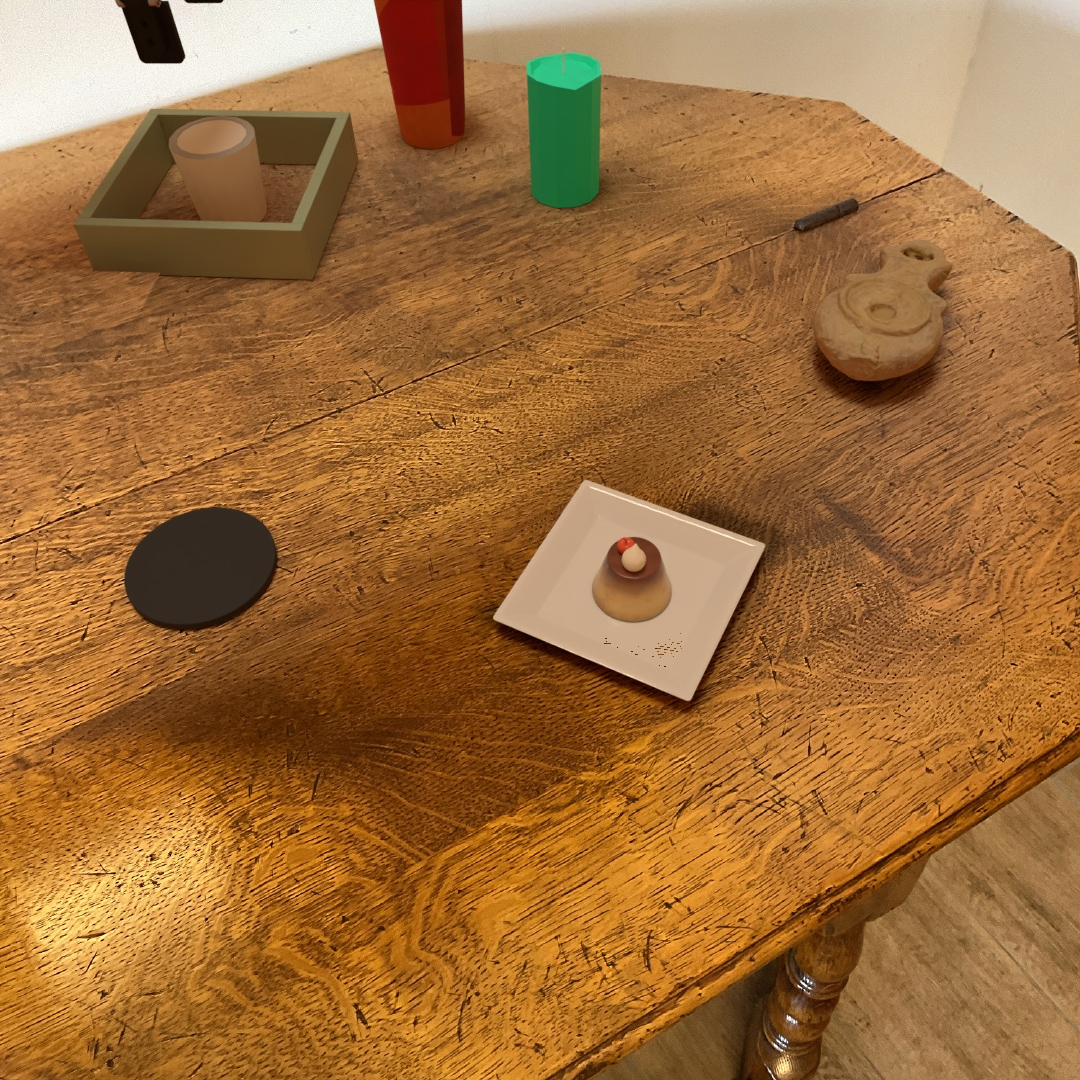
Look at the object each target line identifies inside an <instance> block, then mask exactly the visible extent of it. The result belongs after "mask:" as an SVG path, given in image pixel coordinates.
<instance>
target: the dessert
mask: <svg viewBox="0 0 1080 1080" xmlns="http://www.w3.org/2000/svg"><path fill="white" fill-rule="evenodd" d="M765 548H766V544H765V543H764V542H761V541H758V540H755V539H753V538H750V537H747V536H744V535H742V534H738V533H737V532H734V531H730V530H727V529H725V528H722V527H719V526H717V525H714V524H711V523H709V522H705V521H703V520H699V519H697V518H694V517H692V516H689V515H687V514H683V513H680V512H677V511H674V510H672V509H670V508H666V507H664V506H660V505H658V504H655V503H653V502H650V501H647V500H644V499H641V498H639V497H636V496H633V495H631V494H627V493H626V492H625V493H624V492H621V491H619V490H616V489H614V488H610V487H608V486H606V485H602V484H600V483H597V482H594V481H591V480H589V479H584V480H583V481H582V482H581V484H580V486H579V487H578V488H577V490H576V491H575V493H574V495H572V498H571V499H570V500H569V502H568V504H567V505H566V506H565V508H564V509H563V511H562V512H561V514H560V515H559V516H558V518H557V520H556V521H555V523H554V524H553V526H552V527H551V529H550V530H549V532H548V534H547V535H546V536H545V538H544V539H543V541H542V542H541V544H540V545H539V547H538V548H537V550H536V552H534V554H533V556H532V557H531V559H530V560H529V562H528V564H527V565H526V566H525V568H524V569H523V571H522V572H521V574H520V576H519V577H518V578H517V580H516V582H515V583H514V585H513V586H512V587H511V588H510V590H509V592H508V594H507V595H506V597H505V598H504V600H503V601H502V603H500V606H499V607H498V609H497V610H496V612H495V613H494V615H493V616H492V619H493V620H494V621H496V622H498V623H501V624H503V625H505V626H508V627H510V628H513V629H515V630H517V631H519V632H522V633H525V634H527V635H529V636H532V637H534V638H536V639H538V640H541V641H543V642H545V643H548V644H550V645H553V646H556V647H558V648H559V649H562V650H565V651H567V652H570V653H572V654H574V655H576V656H580V657H582V658H584V659H586V660H588V661H591V662H594V663H596V664H597V665H601V666H603V667H605V668H607V669H610V670H613V671H615V672H617V673H619V674H622V675H624V676H626V677H629V678H631V679H634V680H636V681H639V682H641V683H643V684H646V685H648V686H650V687H653V688H655V689H657V690H659V691H662V692H664V693H667V694H669V695H672V696H674V697H676V698H679V699H682V700H684V701H686V702H690V701H691V700H692V699H693V696H694V694H695V692H696V690H697V688H698V687H699V684H700V682H701V680H702V678H703V676H704V674H705V671H706V670H707V668H708V665H709V664H710V662H711V659H712V658H713V655H714V653H715V651H716V649H717V648H718V645H719V643H720V641H721V639H722V636H723V635H724V632H725V631H726V628H727V626H728V624H729V623H730V620H731V618H732V616H733V614H734V612H735V609H736V608H737V606H738V604H739V602H740V599H741V597H742V595H743V593H744V591H745V589H746V587H747V585H748V583H749V581H750V579H751V576H753V575H752V574H753V572H754V570H755V569H756V566H757V564H758V563H759V561H760V559H761V557H762V554H763V552H764V550H765ZM680 633H681V634H680ZM605 638H607V639H605ZM669 639H670V640H669ZM606 641H607V642H606ZM681 641H682V642H681ZM672 642H674V643H672ZM604 643H611V644H604ZM658 643H659V644H658ZM677 643H680V644H677ZM665 644H666V645H665ZM671 644H672V645H671ZM638 646H639V647H638ZM660 646H664V647H660ZM680 646H681V647H680ZM617 647H618V648H617ZM667 647H670V648H667ZM655 648H661V649H655ZM674 648H676V649H674ZM681 648H682V649H681ZM643 649H645V650H643ZM664 649H668V650H664ZM670 650H674V651H670ZM631 651H633V652H631ZM657 651H659V652H657ZM676 651H678V652H676ZM664 652H666V653H664ZM671 653H672V654H671ZM635 654H638V655H635ZM658 654H664V655H658ZM652 656H654V657H652ZM673 656H674V657H673ZM660 657H661V658H660ZM659 665H660V666H659ZM664 666H666V667H664Z"/></svg>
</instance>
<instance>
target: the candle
mask: <svg viewBox="0 0 1080 1080" xmlns="http://www.w3.org/2000/svg"><path fill="white" fill-rule="evenodd" d="M526 83H527V84H526V86H527V109H528V110H527V111H528V113H527V114H528V137H529V138H528V139H529V163H530V164H529V165H530V166H529V167H530V189H531V190H530V191H531V196H532V197H533V198H534V199H535V200H537V201H538V203H540V204H541V205H544V206H549V207H552V208H555V209H563V208H564V209H565V208H566V209H567V208H568V209H569V208H578V207H579V206H583V205H585V204H588V203H591V202H592V200H594V199H595V198H596V196H597V195H598V194H599V193H600V157H601V156H600V155H601V154H600V153H601V150H600V149H601V148H600V147H601V101H602V100H601V97H602V96H601V95H602V69H601V61H600V60H598V59H597V58H594V57H593V56H591V55H590V54H589V55H588V54H584V53H578V52H573V51H570V52H565V47H562V53H555V54H548V55H544V56H538V57H535V58H533V59H531V60H529V61H527V62H526Z"/></svg>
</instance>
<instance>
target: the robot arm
mask: <svg viewBox="0 0 1080 1080" xmlns="http://www.w3.org/2000/svg"><path fill="white" fill-rule="evenodd" d="M224 1H225V0H184V3H186V4H223V2H224ZM114 2H115V4H116V6H117V7H118V8H121V10H122V13H123V16H124V18H125V22H126V25H127V27H128V30H129V34H130V36H131V40H132V42H133V45H134V48H135V50H136V53H137V56H138V59H139V61H140V62H141V63H143V64H147V65H148V64H149V65H150V64H153V65H154V64H156V65H157V64H158V65H160V64H163V65H166V64H168V65H169V64H170V65H172V64H173V65H176V64H177V65H178V64H179V65H181V64H182V63H183V62H184V60H185V59H186V54H185V53H186V52H185V50H184V47H183V43H182V40H181V36H180V34H179V31H178V28H177V24H176V21H175V17H174V14H173V11H172V8H171V4H170V1H169V0H114Z"/></svg>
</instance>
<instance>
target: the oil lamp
mask: <svg viewBox="0 0 1080 1080" xmlns="http://www.w3.org/2000/svg"><path fill="white" fill-rule="evenodd" d="M946 258H947V257H946V254H945V251H944V249H942V247H940V246H939V245H938V244H936V243H935V242H933V241H928V240H925V239H915V240H909V241H906V242H902V243H899V244H895V245H885V246H883V247H882V248H881V249H880V252H879V269H880V270H877V271H876V272H872V273H849V274H847V275H846V276H845V278H844V280H843V285H842V287H839V288H836V289H835V290H834V291H832V292H830V293H828V295H827V296H825V298H823V299H822V300H821V301H820V302H819V304H817V307H816V308H815V311H814V313H813V319H812V329H813V336H814V339H815V341H816V344H817V346H818V348H819V350H820V351H821V353H822V354H823V356H825V358H826V359H827V360H828V362H829V364H830V365H831V366H832V367H834V368H835V369H836V370H838V371H839V372H841V373H842V374H843V375H845V376H847V377H848V378H851V379H852V380H855V381H863V382H879V381H885V380H889V379H894V378H898V377H901V376H904V375H907V374H910V373H913V372H915V371H917V370H919V369H920V368H922V367H923V366H925V365H926V364H928V362H929V361H930V360H932V358H933V356H934V355H935V354H936V353H937V351H938V349H939V347H940V345H941V343H942V339H943V337H944V321H943V316H944V314H945V313H946V311H947V310H948V309H949V303H948V301H947V300H946V299H944V298H943V297H941V296H939V295H938V294H937V293H935V291H937V290H938V289H939V287H940V286H941V285H942V284H943V283H944V282H945V281H946V280H947V278H948V277H949V276H950V274H951V272H952V270H953V265H954V264H953V263H952V262H951V261H948V260H946Z"/></svg>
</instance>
